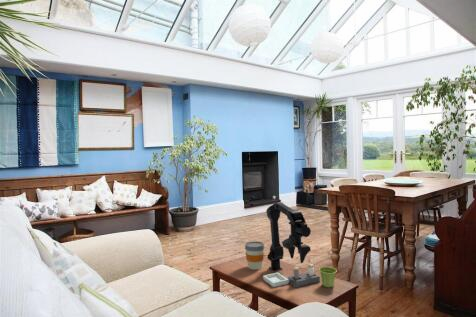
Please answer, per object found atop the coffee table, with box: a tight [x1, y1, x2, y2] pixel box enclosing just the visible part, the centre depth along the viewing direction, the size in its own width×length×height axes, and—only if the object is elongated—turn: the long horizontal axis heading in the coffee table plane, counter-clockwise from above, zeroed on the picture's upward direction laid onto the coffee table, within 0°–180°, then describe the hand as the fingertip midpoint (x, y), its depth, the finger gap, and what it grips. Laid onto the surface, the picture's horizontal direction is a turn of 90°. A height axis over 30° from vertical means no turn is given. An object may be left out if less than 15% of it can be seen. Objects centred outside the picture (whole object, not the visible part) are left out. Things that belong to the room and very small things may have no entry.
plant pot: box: [318, 266, 338, 288], centre depth 172 cm, size 9×9×9 cm
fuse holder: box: [287, 272, 321, 288], centre depth 177 cm, size 8×16×3 cm, turn 114°
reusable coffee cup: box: [244, 241, 265, 270], centre depth 203 cm, size 13×13×15 cm
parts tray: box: [262, 272, 290, 288], centre depth 179 cm, size 12×10×2 cm
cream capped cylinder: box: [293, 266, 300, 280], centre depth 175 cm, size 3×3×9 cm
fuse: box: [307, 263, 315, 277], centre depth 179 cm, size 3×3×9 cm
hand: (296, 260), depth 176 cm, fingers open, 9 cm apart
